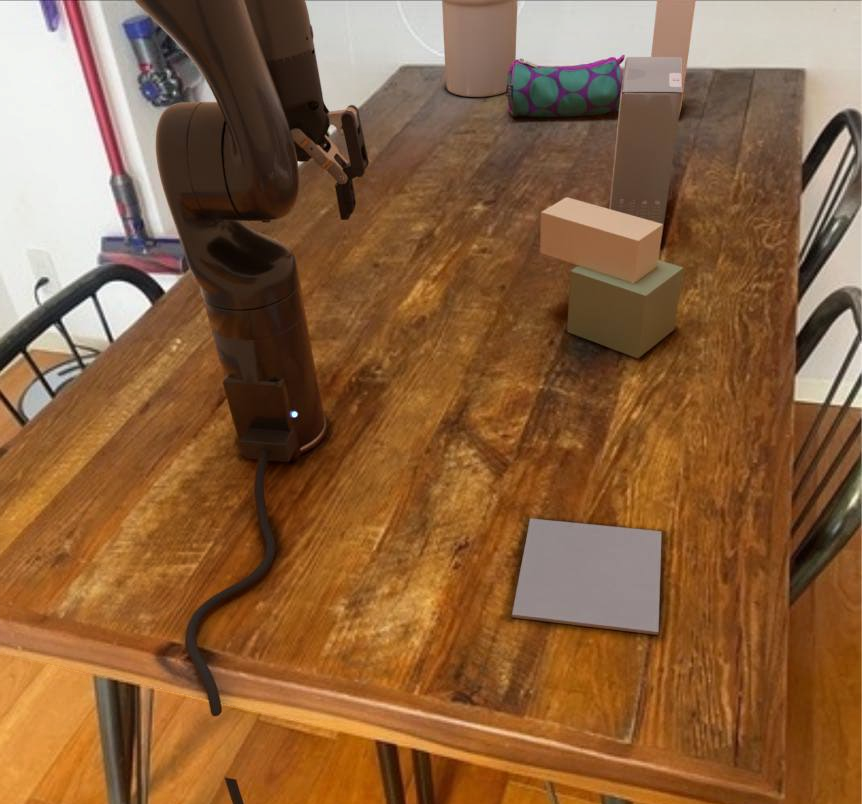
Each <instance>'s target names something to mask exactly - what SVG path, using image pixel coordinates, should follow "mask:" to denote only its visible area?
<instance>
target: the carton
mask: <svg viewBox="0 0 862 804" xmlns="http://www.w3.org/2000/svg"><path fill="white" fill-rule="evenodd" d="M662 229H663V230H664V226H663V224H661V223H657V222H654V221H650V220H646V219H643V218H639V217H636V216H632V215H629V214H625V213H621V212H618V211H614V210H611V209H609V208H607V207H603V206H599V205H596V204H592V203H588V202H586V201H582V200H578V199H576V198H571V197H568V196H566V197H564V198H562V199H560V200H559V201H558V202H557V201H556V203H554V204H552V205H551V206H549V207H547V208H545V209H543V210H542V211H541V212H540V237H539V238H540V240H539V254H542V255H544V256H548V257H551V258H554V259H557V260H559V261H564V262H566V263H570V264H573V265H576V266H582V267H585V268H588V269H591V270H594V271H597V272H600V273H603V274H606V275H609V276H612V277H615V278H618V279H621V280H624V281H627V282H631V283H635V282H637V281H638V280H639V279H641V278H642V277H644V276H645V275H646V274H648V273H649V272H650V271H652V270H653V269H655V268H656V267H657V266H658V260H660V259H659V258H660V251H661V245H660V244H662V239H661V237H662V238H663V233H662Z"/></svg>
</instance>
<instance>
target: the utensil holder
mask: <svg viewBox="0 0 862 804" xmlns="http://www.w3.org/2000/svg"><path fill="white" fill-rule="evenodd" d="M441 3H442V4H441V5H442V7H441V8H442V28H443V29H442V31H443V46H444V47H443V49H444V50H443V52H444V53H443V54H444V68H445V69H444V71H445V84H446V89H447V91H448V92H450V93H451V94H453V95H457V96H461V97H469V98H485V97H494V96H497V95H501V94H504V93H505V94H506V88H507V78H508V72H509V69H510V66H511V64H512V63H513V62H515V60H517V58H516V57H517V56H516V55H517V26H518V0H441Z"/></svg>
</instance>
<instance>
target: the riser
mask: <svg viewBox="0 0 862 804" xmlns="http://www.w3.org/2000/svg"><path fill="white" fill-rule="evenodd" d="M684 269H685V267H683V266H680V265H676V264H674V263H670V262H667V261H663V260H661V259H658V266H657V267H656V268H655V269H653V270H652V271H650V272H649V273H648V274H646V275H645V276H644V277H642V278H641V279H639V280H638V281H637V282H635V283H631V282H627V281H624V280H621V279H618V278H615V277H612V276H609V275H606V274H603V273H600V272H597V271H594V270H591V269H588V268H585V267H582V266H578V265H576V266H575V267H574V268H573V269H570V275H569V290H568V291H569V293H568V307H567V308H568V309H567V327H566V332H567V333H569V334H571V335H574V336H577V337H579V338H582V339H585V340H587V341H589V342H592V343H596V344H598V345H600V346H603V347H605V348H609V349H611V350H613V351H615V352H619V353H621V354H625V355H628V356H630V357H633V358H635V359H640V358H641V357H643V355H645V354H646V353H647V352H648V351H650V350H651V349H652V348H653V347H654V346H656V345H657V344H658V343H659V342H661V341H662V340H663V339H665V338H666V337H667V336H668V335H669V334H671V333H672V332H673V331H674V330H675V327H676V320H677V315H678V308H679V300H680V296H681V295H680V294H681V288H682V282H683V277H684V276H683V275H684Z"/></svg>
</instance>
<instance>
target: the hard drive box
mask: <svg viewBox="0 0 862 804" xmlns="http://www.w3.org/2000/svg"><path fill="white" fill-rule="evenodd" d="M622 76H623V81H622V88H621V96H620V105H619V110H618V117H617V126H616V138H615V146H614V157H613V166H612V176H611V187H610V195H609V196H610V197H609V205H608V209H611V210H614V211H618V212H621V213H625V214H629V215H632V216H636V217H639V218H643V219H646V220H650V221H654V222H657V223H661V224H663V227H664V226H665V225H664V224H665V218H666V212H667V205H668V199H669V190H670V182H671V175H672V168H673V161H674V153H675V148H676V147H675V146H676V140H677V132H678V127H679V119H680V115H679V113H680V114H681V111H680V106H681V99H682V93H683V94H684V91H683V92H682V58H681V57H651V56H627V57H626V59H625V60H624V68H623V73H622ZM682 100H683V99H682ZM681 107H682V106H681ZM663 232H664V228H663V229H662V234H663ZM662 239H663V236H662V237H661V240H662ZM661 244H662V243H661ZM661 244H660V246H661Z"/></svg>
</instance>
